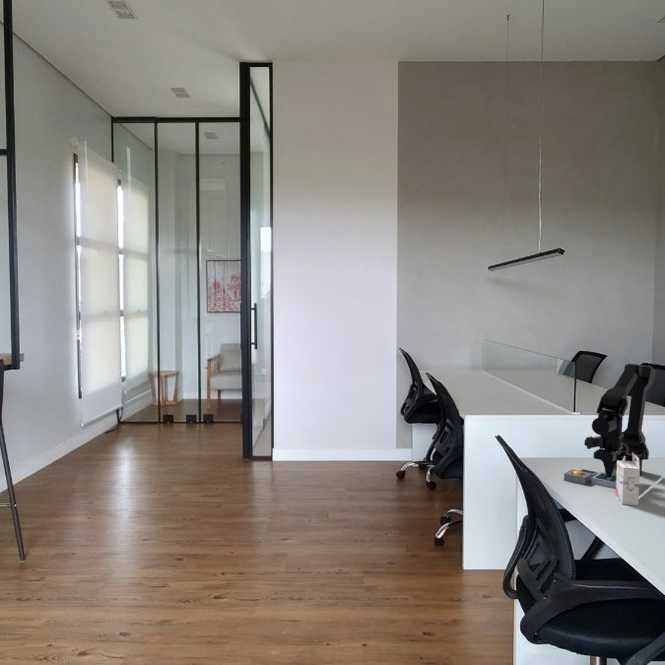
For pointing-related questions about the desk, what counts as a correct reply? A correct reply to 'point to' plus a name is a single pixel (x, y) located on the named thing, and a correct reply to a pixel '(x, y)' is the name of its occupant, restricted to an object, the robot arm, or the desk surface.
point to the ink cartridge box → (628, 481)
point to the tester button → (578, 473)
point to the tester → (579, 476)
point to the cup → (602, 481)
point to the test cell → (613, 476)
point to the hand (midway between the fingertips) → (610, 476)
